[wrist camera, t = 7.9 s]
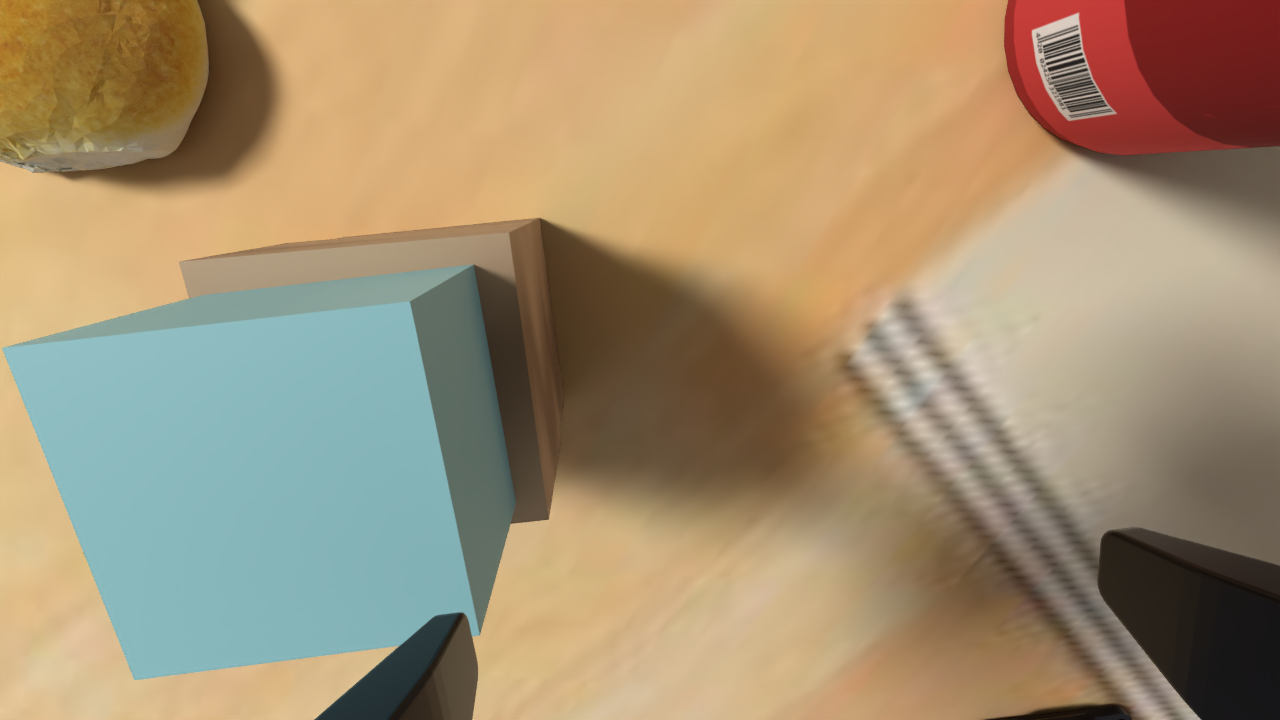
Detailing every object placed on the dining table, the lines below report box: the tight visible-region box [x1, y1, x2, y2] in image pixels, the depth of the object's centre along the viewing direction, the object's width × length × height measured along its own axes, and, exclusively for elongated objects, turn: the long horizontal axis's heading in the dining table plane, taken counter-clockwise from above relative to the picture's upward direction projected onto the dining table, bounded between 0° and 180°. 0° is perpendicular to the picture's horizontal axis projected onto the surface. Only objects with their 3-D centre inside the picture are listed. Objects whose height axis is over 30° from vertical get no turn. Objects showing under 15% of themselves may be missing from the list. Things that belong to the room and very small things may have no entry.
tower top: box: [179, 222, 561, 524], centre depth 14 cm, size 6×6×4 cm
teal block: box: [2, 264, 516, 680], centre depth 10 cm, size 5×5×4 cm
